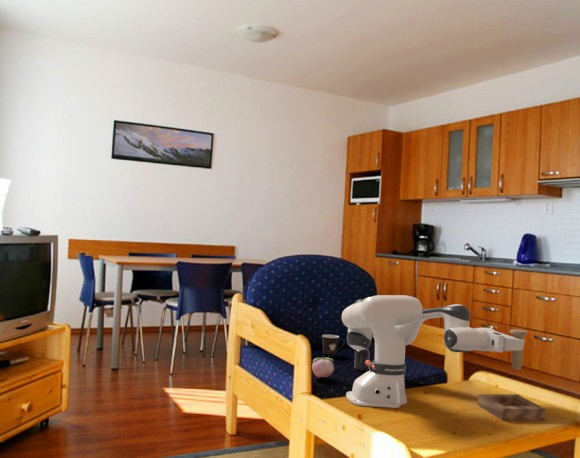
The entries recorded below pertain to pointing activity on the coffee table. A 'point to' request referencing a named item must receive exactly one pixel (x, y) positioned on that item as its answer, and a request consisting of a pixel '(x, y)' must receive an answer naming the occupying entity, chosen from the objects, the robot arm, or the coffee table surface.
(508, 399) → the collar
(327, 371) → the decorative fruit
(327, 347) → the coffee mug
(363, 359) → the supplement bottle
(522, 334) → the beige bolt
